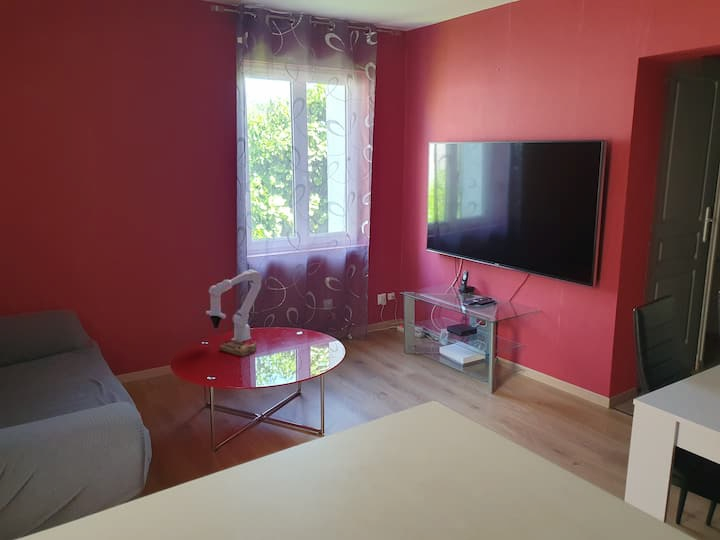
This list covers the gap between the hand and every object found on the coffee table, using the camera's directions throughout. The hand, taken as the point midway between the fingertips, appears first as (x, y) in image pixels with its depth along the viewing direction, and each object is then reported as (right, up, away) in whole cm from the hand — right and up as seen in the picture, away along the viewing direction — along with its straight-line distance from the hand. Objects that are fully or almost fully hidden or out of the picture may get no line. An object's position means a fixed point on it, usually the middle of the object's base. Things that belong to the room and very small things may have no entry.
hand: (216, 327), depth 336 cm
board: (+15, -12, -9) cm, 21 cm away
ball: (+18, -11, -11) cm, 24 cm away
